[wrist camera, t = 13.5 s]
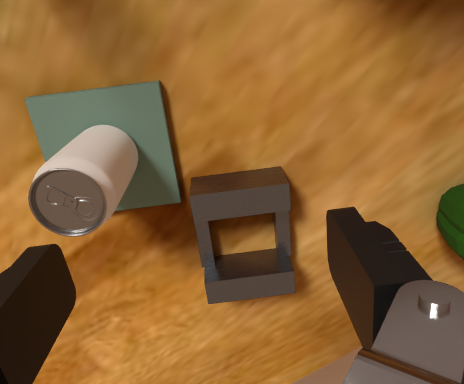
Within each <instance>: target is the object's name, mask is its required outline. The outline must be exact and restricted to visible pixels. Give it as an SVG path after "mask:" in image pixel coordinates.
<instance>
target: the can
mask: <svg viewBox="0 0 464 384" xmlns="http://www.w3.org/2000/svg"><path fill="white" fill-rule="evenodd" d="M137 164H138V151H137V148H136V146H135V144H134V142H133V140H132V139H131V138H130V137H129V136H128V135H127V134H126V133H125V132H124V131H122V130H120V129H118V128H116V127H113V126H110V125H96V126H92V127H90V128H88V129H86V130H85V131H83V132H82V133H81V134H79V135H78V136H77V137H76V138H74V139H73V140H72V141H71V142H69V143H68V144H67V145H66V146H65V147H63V148H62V149H61V150H60V151H58V152H57V153H56V154H55V155H54V156H52V157H51V158H50V159H49V160H48V161H47V162H45V163H44V164H43V165H42V166H41V167H40V169H39V170H38V171H37V173H36V174H35V176H34V179H33V182H32V185H31V187H30V190H29V196H28V200H29V206H30V209H31V211H32V213H33V215H34V217H35V218H36V219H37V220H38V222H39V223H40V224H41V225H43V226H44V227H45V228H47V229H48V230H50V231H52V232H54V233H56V234H59V235H63V236H70V237H76V236H83V235H86V234H89V233H91V232H93V231H94V230H96V229H97V228H98V227H100V226H101V225H103V224H104V223H105V222H107V221H108V219H109V218H110V217H111V216H112V214H113V213H114V211H115V209H116V207H117V206H118V204H119V202H120V200H121V198H122V196H123V194H124V192H125V190H126V188H127V186H128V184H129V183H130V181H131V179H132V177H133V175H134V172H135V170H136V168H137Z"/></svg>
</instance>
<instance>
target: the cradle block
mask: <svg viewBox="0 0 464 384" xmlns="http://www.w3.org/2000/svg"><path fill="white" fill-rule="evenodd" d="M189 197H190V203H191V208H192V214H193V220H194V223H195V229H196V235H197V240H198V246H199V252H200V257H201V263H202V267H205V288H206V294H207V300H208V304H214V303H222V302H229V301H237V300H245V299H252V298H260V297H268V296H276V295H283V294H291V293H295V277H294V269H293V266H292V264H291V261H290V258H289V256H291V241H290V223H289V210H291V204H290V185H289V182H288V180H287V178H286V176H285V174H284V172H283V170H282V168H281V167H272V168H264V169H257V170H249V171H241V172H233V173H225V174H217V175H209V176H201V177H194V178H191V186H190V195H189ZM266 213H273V216H274V229H275V242H276V248H275V249H267V250H260V251H252V252H244V253H236V254H228V255H221V256H214V249H213V243H212V236H211V230H210V224H209V221H211V220H219V219H227V218H234V217H242V216H250V215H258V214H266Z"/></svg>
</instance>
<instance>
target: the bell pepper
mask: <svg viewBox="0 0 464 384" xmlns="http://www.w3.org/2000/svg"><path fill="white" fill-rule="evenodd" d="M439 208H440V210H439V211H438V212H437V226H438V228H439V230H440V232H441V234H442V235H443V237H444V239H445V240H446V242H447V243H448V245H449V246H450V247H451V248H452V249H453V250H454V251H455V252H456V253H457V254H458V255H459V256H460V257H461V258H462V259H463V260H464V184H461V185H458V186H455V187H452V188H451V189H449V190H448V191H447V192H446V193H445V194H443V195H442V197H441V200H440V203H439Z"/></svg>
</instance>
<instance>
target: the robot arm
mask: <svg viewBox="0 0 464 384" xmlns="http://www.w3.org/2000/svg"><path fill="white" fill-rule="evenodd" d="M326 221H327V251H328V263H329V268H330V272H331V276H332V278H333V280H334V283H335V285H336V287H337V290H338V292H339V294H340V296H341V299H342V301H343V303H344V306H345V308H346V310H347V312H348V315H349V317H350V319H351V322H352V324H353V326H354V328H355V331H356V333H357V335H358V338H359V340H360V342H361V344H362V347H363V348H362V349H361V350H360V351H359V352H358V354H357V355H356V357H355V359H354V362H353V363H352V365H351V367H350V369H349V371H348V374H347V375H346V377H345V379H344V382H343V384H464V293H463V292H462V291H460V290H459V289H457V288H455V287H453V286H451V285H448V284H445V283H442V282H438V281H433V280H432V279H431V278H430V276H429V275H428V274H427V273H426V272H425V270H424V269H423V268H422V267H421V266H420V264H419V263H418V262H417V261H416V260H415V258H414V257H413V256H412V255H411V254H410V252H409V251H407V250H406V248H405V246H404V245H403V244H402V243H401V242H399V239H398V238H397V237H396V236H395V234H394V233H393V232H392V231H391V230H390V229H389V228H387V227H385V226H383V225H381V224H380V223H378V222H376V221H372V222H365V221H364V219H363V218H362V217H361V215H360V214H359V213H358V211H357V210H356V209H355V207H348V208H340V209H332V210H328V211H327V216H326ZM75 301H76V289H75V285H74V283H73V280H72V277H71V274H70V272H69V269H68V266H67V264H66V261H65V258H64V255H63V253H62V250H61V248H60V247H59V246H58V245H56V244H49V245H42V246H34V247H29V248H27V249H26V250H25V251H24V252H23V253H22V254H21V256H20V257H19V258H18V259H17V260H16V261H15V262H14V263H13V264H12V266H11V267H9V268H8V269H6V270H5V271H3V272H2V273H1V274H0V384H32V383H33V382H34V380H35V378H36V376H37V374H38V372H39V371H40V369H41V367H42V365H43V363H44V361H45V359H46V358H47V356H48V354H49V352H50V350H51V348H52V346H53V345H54V343H55V341H56V339H57V337H58V335H59V333H60V332H61V330H62V328H63V326H64V324H65V322H66V321H67V319H68V317H69V315H70V313H71V311H72V309H73V307H74V305H75Z"/></svg>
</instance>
